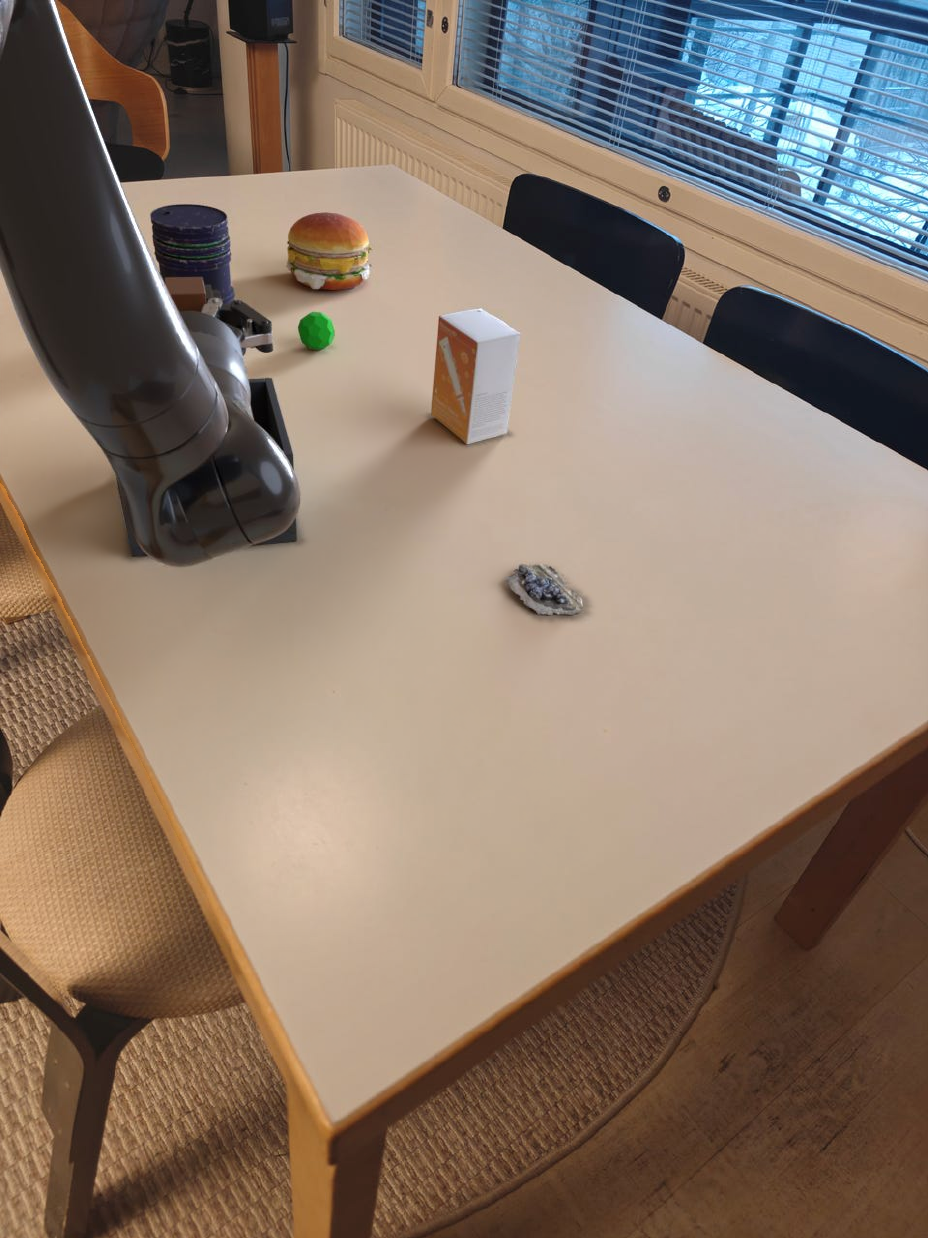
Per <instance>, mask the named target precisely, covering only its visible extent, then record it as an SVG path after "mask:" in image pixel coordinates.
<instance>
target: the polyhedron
mask: <svg viewBox="0 0 928 1238" xmlns="http://www.w3.org/2000/svg"><path fill="white" fill-rule="evenodd" d="M297 331H298V335H299V338H300V341H301V343H302V344H303V345H304V346H305V347H307V348H308V349H310V350H313V351H321V350H324V349H326V348H327V347H329V346H330V345H331V344H333V341H334V340H335V335H336V332H335V327H334V323H333V321H332V319H331V318H330V317H328V316H327V315H326V314H325V313H323V312H320V311H311V312H309V313H308V314H307V315H305V316H303V317H302V318H301V319H300V320H299V323H298V326H297Z"/></svg>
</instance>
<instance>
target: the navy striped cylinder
mask: <svg viewBox="0 0 928 1238" xmlns="http://www.w3.org/2000/svg"><path fill="white" fill-rule="evenodd" d="M149 217H150V224H151V230H152V231H151V232H152V235H151V236H152V237H151V238H152V244H153V245H152V246H153V247H154V257H155V260H156V262H157V263H158V270H159V272H160V274H161V276H162V278H163V281H164V283H165V278H166V277H202V278H203V283H204V285H211V289H212V290H218V291H219V292H220V295H221V299H222V303H224V304H227V305H230V302H231V301H234V300H235V297H236V294H235V289H234V287H233V285H232V278H231V277H232V275H231V266H230V263H231V261H232V252H231V236H230V233H229V227H228V224H229V222H228V214H227V213H226V212H225V211H223V210H221V209H219V208H217V207H213V206H209V205H203V204H194V203H193V204H192V203H181V204H179V203H178V204H170V205H164V206H160V207H157V208H155V209H153V210H152V211H151V212H150V215H149Z"/></svg>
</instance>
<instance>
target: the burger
mask: <svg viewBox="0 0 928 1238" xmlns="http://www.w3.org/2000/svg"><path fill="white" fill-rule="evenodd" d="M369 241H370V240H369V235H368V234H367V231H366V230H365V229H364V227H363V226H362V225H361V224H360V223H358V222H357V221H356V220H354V219H352V218H350V217H348V216H346V215H343V214H341V213H336V212H326V211H325V212H314V213H310V214H307V215H305V216H302V217H300V218H299V219H297V220H296V221H295V222H294V223H293V225H291V227H290V229H289V231H288V234H287V241H286V244H287V245H288V246H287V248H286V249H287V261H286V268H287V270H288V271H290V272H291V274H292V276H293V278H294V279H295V280H296V281H297V282H299V283H300V284H302V285H303V286H307V287H310V288H311V289H312V290H318V289H321V290H332V291H337V290H346V289H352V288H355V287H357V286H359V285H361V284H362V283H364V281H366V280H368V279H370V276H369V275H370V268H371V267H372V264H371V263H370V262H369V261H368V260H369V254H370V251H373V249H372V248H371V247H370V245H369Z"/></svg>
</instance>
